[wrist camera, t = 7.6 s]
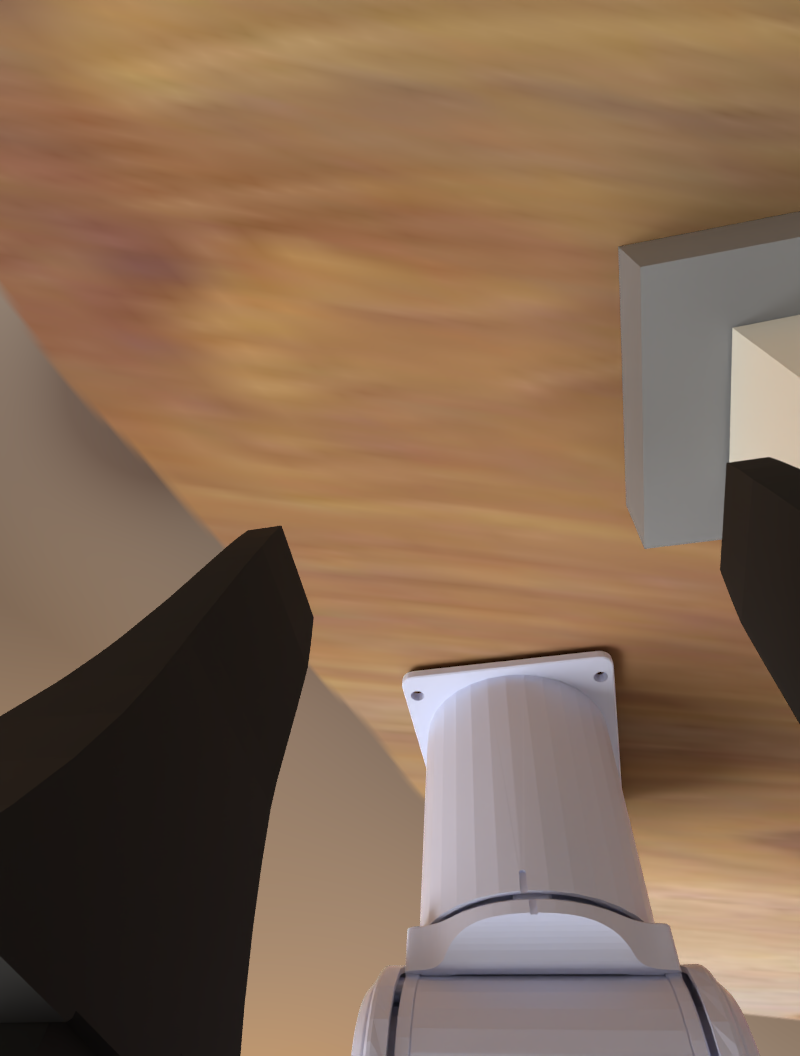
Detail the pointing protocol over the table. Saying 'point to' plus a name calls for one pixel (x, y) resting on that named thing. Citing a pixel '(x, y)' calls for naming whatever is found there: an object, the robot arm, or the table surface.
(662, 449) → the gray base block
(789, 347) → the cream block
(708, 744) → the table surface
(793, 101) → the table surface
